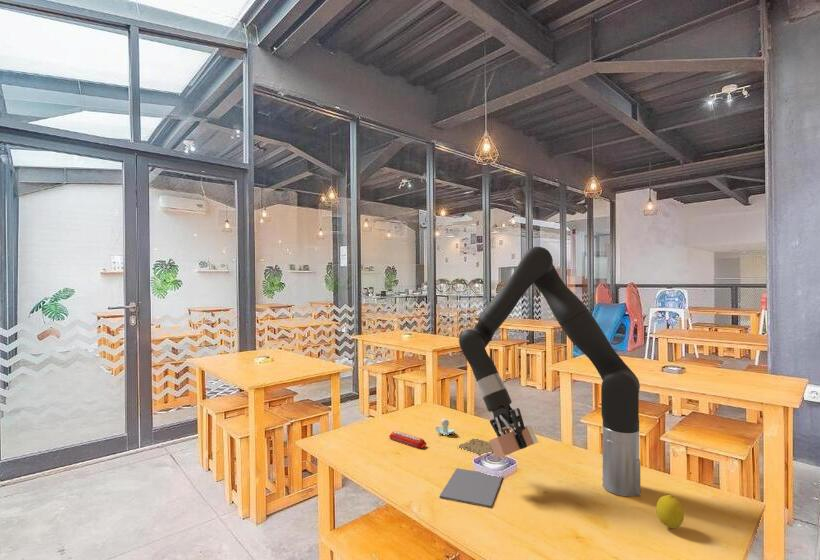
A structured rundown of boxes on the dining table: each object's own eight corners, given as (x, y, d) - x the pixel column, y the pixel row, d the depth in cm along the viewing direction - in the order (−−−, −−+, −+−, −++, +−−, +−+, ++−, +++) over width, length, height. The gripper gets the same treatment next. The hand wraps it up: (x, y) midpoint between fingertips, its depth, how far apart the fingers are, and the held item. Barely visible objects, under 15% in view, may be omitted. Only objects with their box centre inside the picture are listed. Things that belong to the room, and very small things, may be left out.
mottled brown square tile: (504, 447, 150) (504, 445, 150) (485, 458, 141) (485, 455, 141) (475, 439, 158) (475, 436, 158) (455, 448, 149) (455, 446, 149)
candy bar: (387, 439, 158) (387, 431, 158) (394, 436, 160) (394, 428, 160) (421, 451, 147) (421, 442, 147) (428, 447, 150) (428, 439, 150)
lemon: (673, 521, 104) (673, 489, 104) (689, 535, 98) (689, 500, 98) (651, 522, 104) (651, 489, 104) (665, 536, 98) (665, 501, 98)
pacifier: (440, 430, 167) (434, 434, 162) (440, 414, 167) (434, 418, 162) (458, 433, 163) (452, 438, 158) (458, 417, 164) (452, 421, 158)
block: (488, 440, 122) (521, 428, 127) (496, 458, 120) (528, 445, 125) (497, 437, 118) (530, 424, 123) (504, 455, 116) (538, 442, 121)
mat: (502, 477, 127) (502, 475, 127) (491, 507, 110) (491, 505, 110) (456, 469, 132) (456, 468, 132) (439, 497, 115) (439, 495, 115)
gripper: (516, 381, 123) (542, 441, 117) (492, 395, 135) (515, 449, 128) (495, 388, 120) (521, 450, 113) (473, 401, 132) (495, 458, 125)
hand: (518, 449), depth 121 cm, fingers closed on block, 5 cm apart
